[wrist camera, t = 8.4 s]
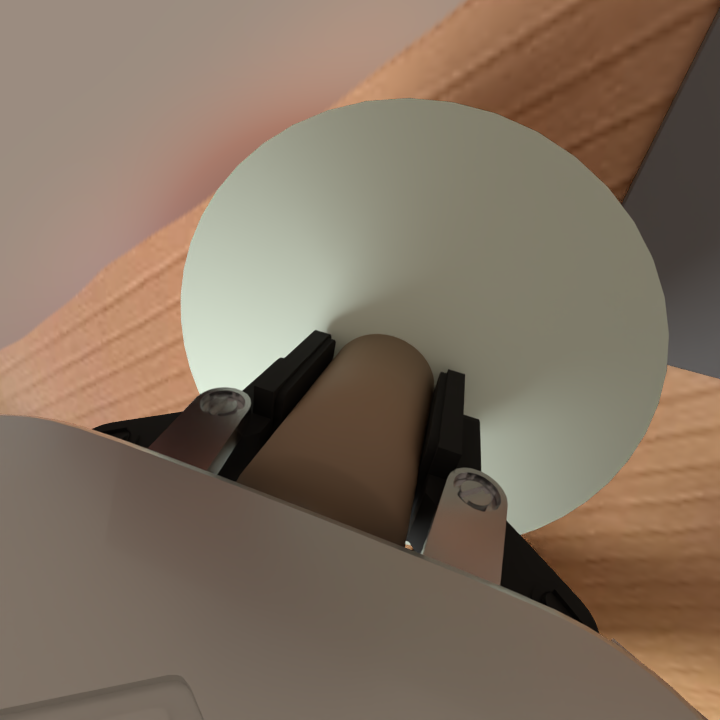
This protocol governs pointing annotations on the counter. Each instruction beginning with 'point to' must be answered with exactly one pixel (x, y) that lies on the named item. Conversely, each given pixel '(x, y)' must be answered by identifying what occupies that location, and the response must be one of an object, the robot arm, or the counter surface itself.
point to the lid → (429, 308)
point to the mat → (686, 211)
